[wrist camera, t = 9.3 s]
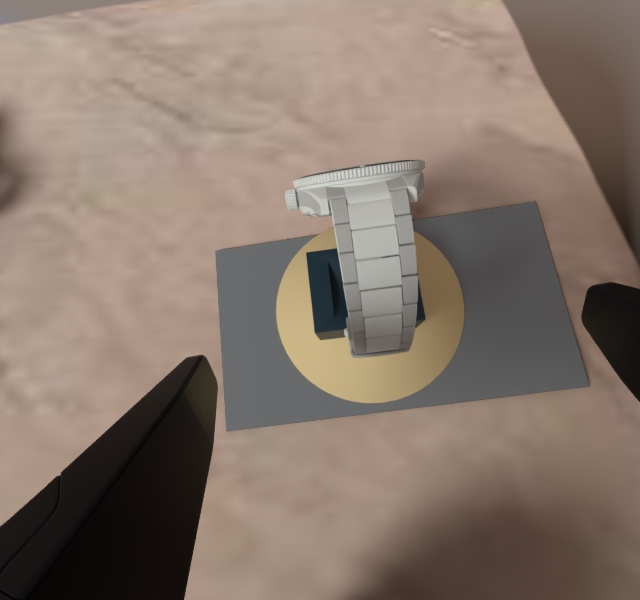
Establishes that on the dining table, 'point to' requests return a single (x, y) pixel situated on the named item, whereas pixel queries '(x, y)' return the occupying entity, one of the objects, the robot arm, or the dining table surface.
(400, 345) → the watch
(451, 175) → the dining table surface
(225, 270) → the mat
